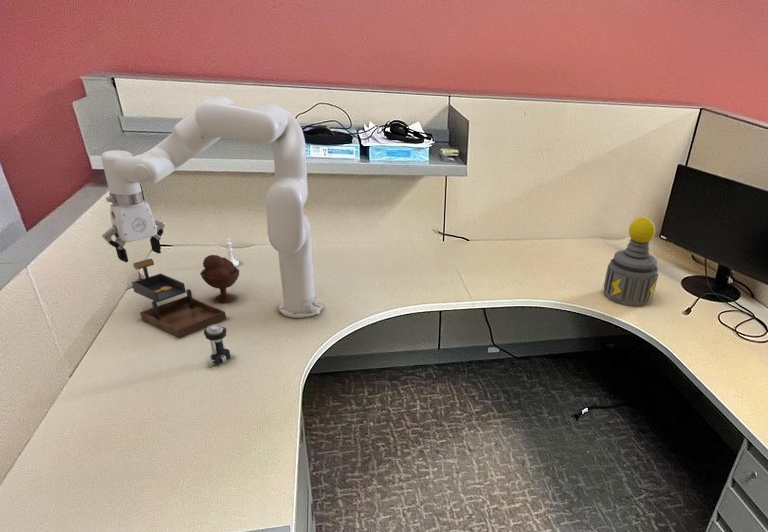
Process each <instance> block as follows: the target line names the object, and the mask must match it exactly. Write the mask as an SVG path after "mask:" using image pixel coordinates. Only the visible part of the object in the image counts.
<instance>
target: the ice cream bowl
mask: <svg viewBox="0 0 768 532" xmlns="http://www.w3.org/2000/svg"><path fill="white" fill-rule="evenodd" d="M228 259H229V258H227V257H223V256H220V255H218V254H210V255H207V256H205V257H204V260H203V261H202V266H203V269H202V270H201V272H199V274H200V276H201V278H202V279H203V281H204V282H205V283H206V284H207V285H209V287H212V288H214V289H218V290H219V292H220V294H218V295H217V296H216V297H214V298H215V299H214V301H215V302H216V303H221V304H226V303H227V304H228V303H231V302H233V301H234V299H235V296H233V295H232V294H230V293H228V292H227V289H228V288H230V287H233V285H234V284H235V283H236V282H237V280H238V279H239V276H240V269H238V267H237V266H234V264H233V263H232V262H231V261H229V260H228Z"/></svg>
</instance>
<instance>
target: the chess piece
mask: <svg viewBox="0 0 768 532" xmlns="http://www.w3.org/2000/svg"><path fill="white" fill-rule="evenodd" d="M224 240H225V243H224V244H225V245H226V247H227V248H226V251H227V253H228V255H227V256H228V258H227V259H228V260H229V261H231V262H232V263H233V264H234V267H237V266H239V265H240V261H239V260H238V259H235V258H234V255H233V253H232V251H233V250H234V249H233V248H232V242H231V241H232V239H231V238H230V237H228V236H227V237H226V238H225V239H224Z"/></svg>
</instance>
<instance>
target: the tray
mask: <svg viewBox="0 0 768 532" xmlns="http://www.w3.org/2000/svg"><path fill="white" fill-rule="evenodd" d="M185 290H186V296H184V297H180V298H177V299H174V300H171V301H168V302H165V303H163V304H160V305H158V302H156V301H153V300H151V305H152V308H148V309H146V310H143V311H140V312H139V315H140V318H141V321H143V322H145V323H147V324H150V325H151V326H154V327H156V328H158V329H160V330H162V331H164V332H166V333H168V334H170V335H172V336H174V337H177V338H178V339H182V338H184V337H187V336H188V335H191V334H193V333H196V332H198V331H201V330H203V329H207V327H208V326H210V325H214V324H218V323H220V322H223V321H226V320H227V315H226V311H224V310H222V309H219V308H217V307H215V306H213V305H211V304H208V303H206V302H203V301H201V300H199V299H197V298H194V297H193V293H192V290H191V289H190V288H186V289H185Z"/></svg>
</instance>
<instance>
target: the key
mask: <svg viewBox="0 0 768 532" xmlns="http://www.w3.org/2000/svg"><path fill="white" fill-rule="evenodd" d="M170 289H172V288H171V287H169V286H165V287H162V288H160V290H156V292H157V293H158V292H161V291H163V290H164V291H167V290H170Z"/></svg>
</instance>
